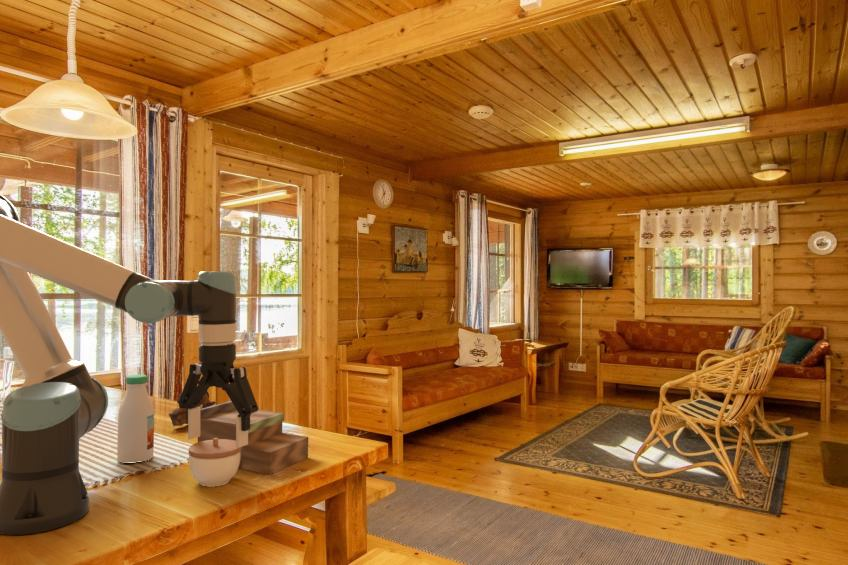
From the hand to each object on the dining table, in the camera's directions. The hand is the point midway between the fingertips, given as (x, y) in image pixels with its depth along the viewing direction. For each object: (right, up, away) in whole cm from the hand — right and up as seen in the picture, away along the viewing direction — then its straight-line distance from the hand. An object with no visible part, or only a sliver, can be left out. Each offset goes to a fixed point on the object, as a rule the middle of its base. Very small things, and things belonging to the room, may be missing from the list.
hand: (217, 441), depth 124 cm
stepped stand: (+3, -8, +16) cm, 18 cm away
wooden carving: (-23, -8, +46) cm, 52 cm away
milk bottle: (-24, -8, +13) cm, 29 cm away
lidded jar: (-1, -9, 0) cm, 9 cm away
